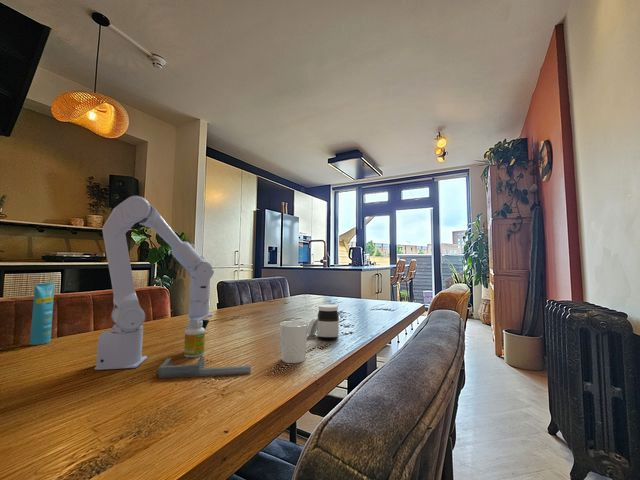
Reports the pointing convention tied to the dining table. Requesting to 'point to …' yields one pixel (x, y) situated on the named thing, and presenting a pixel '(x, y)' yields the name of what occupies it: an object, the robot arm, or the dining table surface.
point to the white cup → (293, 341)
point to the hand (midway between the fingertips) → (197, 345)
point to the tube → (42, 314)
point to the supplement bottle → (194, 340)
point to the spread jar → (325, 323)
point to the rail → (197, 370)
